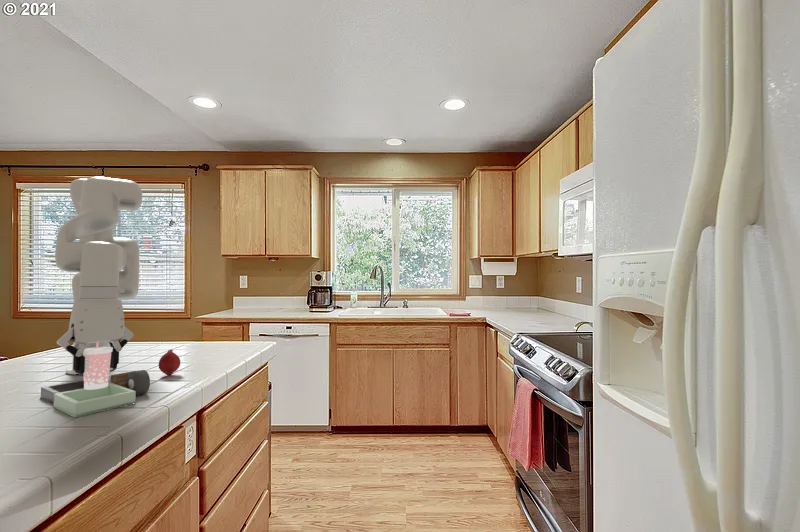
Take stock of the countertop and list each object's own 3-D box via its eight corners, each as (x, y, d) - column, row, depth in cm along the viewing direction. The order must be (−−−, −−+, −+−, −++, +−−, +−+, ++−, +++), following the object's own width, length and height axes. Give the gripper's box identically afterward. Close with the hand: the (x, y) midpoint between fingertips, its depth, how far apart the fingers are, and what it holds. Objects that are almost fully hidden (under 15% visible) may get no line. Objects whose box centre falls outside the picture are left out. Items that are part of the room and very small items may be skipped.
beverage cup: (109, 388, 96) (111, 328, 96) (76, 391, 93) (78, 329, 94) (114, 382, 101) (115, 325, 102) (83, 385, 99) (85, 326, 99)
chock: (110, 392, 108) (110, 375, 108) (134, 387, 113) (135, 370, 114) (119, 395, 106) (120, 377, 106) (144, 390, 111) (144, 373, 111)
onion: (170, 378, 123) (171, 351, 123) (153, 377, 124) (154, 350, 124) (184, 374, 128) (184, 348, 128) (168, 372, 129) (168, 347, 130)
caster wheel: (124, 393, 107) (125, 370, 107) (138, 390, 109) (139, 368, 110) (136, 398, 103) (137, 374, 103) (150, 394, 106) (151, 371, 106)
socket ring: (40, 397, 102) (41, 387, 102) (87, 388, 111) (88, 378, 111) (56, 404, 97) (56, 394, 97) (104, 394, 105) (105, 385, 105)
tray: (53, 407, 95) (54, 394, 95) (112, 394, 105) (112, 383, 106) (75, 417, 89) (75, 403, 89) (135, 403, 99) (135, 391, 99)
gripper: (131, 292, 107) (128, 362, 107) (47, 294, 92) (44, 375, 92) (145, 293, 103) (143, 366, 103) (60, 295, 88) (57, 380, 88)
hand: (96, 369), depth 97 cm, fingers closed on beverage cup, 6 cm apart
